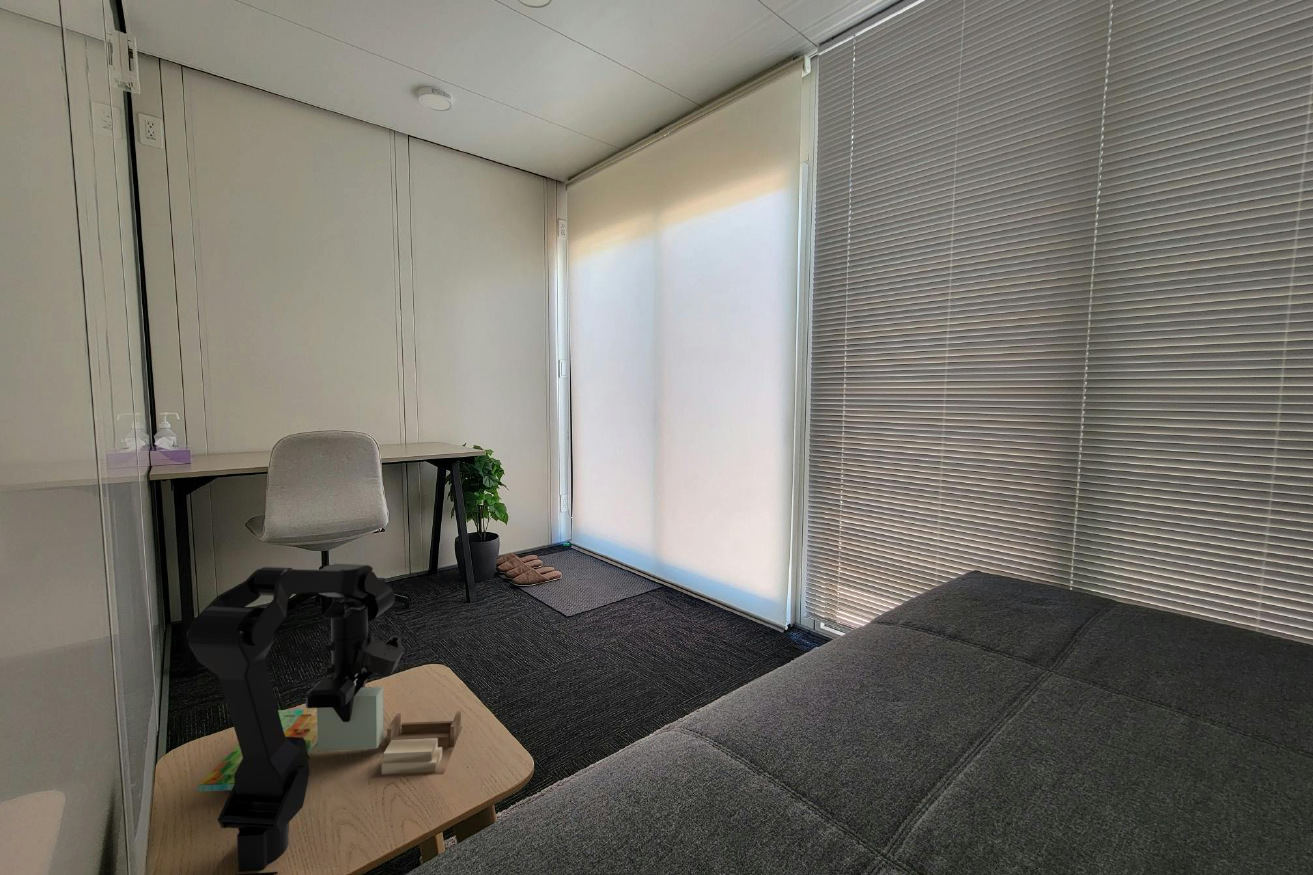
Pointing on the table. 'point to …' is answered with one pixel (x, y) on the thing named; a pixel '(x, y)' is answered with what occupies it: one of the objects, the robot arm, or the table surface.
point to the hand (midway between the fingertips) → (350, 715)
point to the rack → (422, 730)
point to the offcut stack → (412, 756)
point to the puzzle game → (223, 774)
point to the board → (353, 723)
